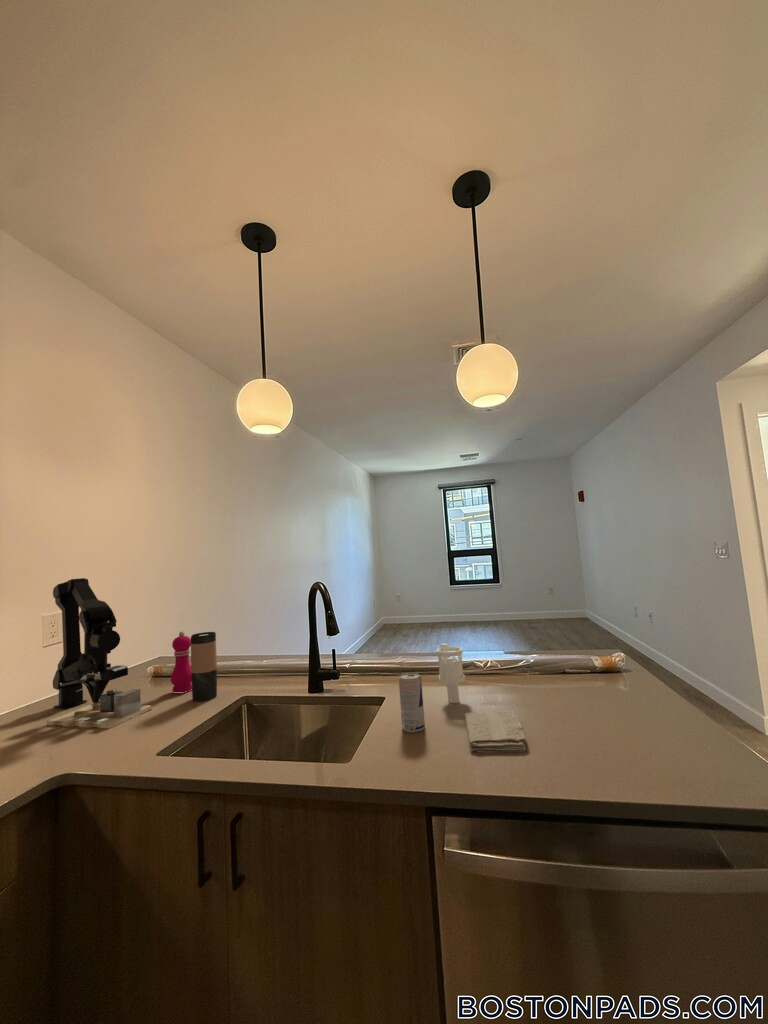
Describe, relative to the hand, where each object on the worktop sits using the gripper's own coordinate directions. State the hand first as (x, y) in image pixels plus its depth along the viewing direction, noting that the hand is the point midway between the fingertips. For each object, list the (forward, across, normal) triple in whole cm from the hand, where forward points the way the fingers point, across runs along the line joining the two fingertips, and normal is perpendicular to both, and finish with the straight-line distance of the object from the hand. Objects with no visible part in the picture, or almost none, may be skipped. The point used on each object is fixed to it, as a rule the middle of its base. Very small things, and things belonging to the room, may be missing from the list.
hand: (95, 702), depth 124 cm
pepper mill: (+4, +9, +24) cm, 26 cm away
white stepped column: (+4, +102, +21) cm, 105 cm away
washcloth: (+5, +114, +1) cm, 114 cm away
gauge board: (+4, +2, 0) cm, 4 cm away
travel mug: (+4, +23, +18) cm, 30 cm away
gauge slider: (+3, +6, -2) cm, 7 cm away
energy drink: (+4, +95, +2) cm, 96 cm away
